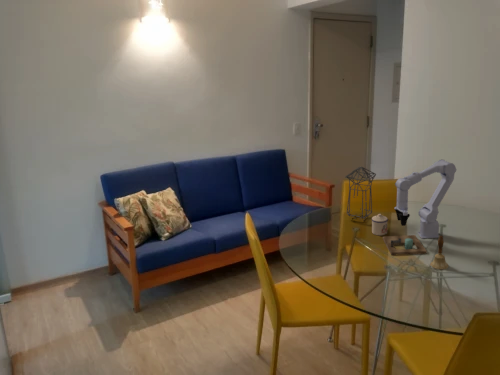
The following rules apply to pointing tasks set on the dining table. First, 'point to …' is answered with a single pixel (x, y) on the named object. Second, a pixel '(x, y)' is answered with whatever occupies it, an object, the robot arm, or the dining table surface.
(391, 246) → the hook arm
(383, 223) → the teacup with lid
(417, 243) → the wooden picture frame
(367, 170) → the geometric lantern
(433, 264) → the hand bell
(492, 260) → the dining table surface
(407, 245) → the bobbin
